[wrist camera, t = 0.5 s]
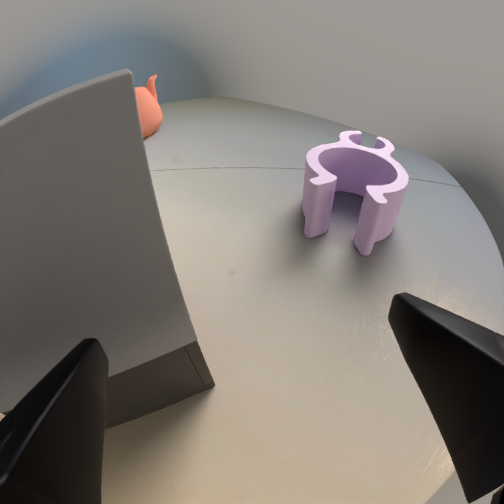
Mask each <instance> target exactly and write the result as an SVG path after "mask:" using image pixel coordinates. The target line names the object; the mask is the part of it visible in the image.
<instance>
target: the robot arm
mask: <svg viewBox="0 0 504 504" xmlns="http://www.w3.org/2000/svg"><path fill="white" fill-rule="evenodd" d="M388 320H389V323H390V325H391V328H392V330H393V332H394V335H395V337H396V339H397V342H398V344H399V347H400V349H401V352H402V354H403V356H404V358H405V361H406V363H407V365H408V367H409V369H410V370H411V372H412V374H413V376H414V378H415V380H416V382H417V384H418V386H419V388H420V390H421V392H422V394H423V396H424V398H425V400H426V402H427V404H428V406H429V408H430V411H431V413H432V415H433V417H434V419H435V421H436V424H437V426H438V428H439V430H440V432H441V435H442V437H443V439H444V442H445V444H446V446H447V449H448V451H449V454H450V456H451V458H452V461H453V464H454V466H455V469H456V471H457V474H458V477H459V480H460V482H461V485H462V488H463V491H464V494H465V496H466V500H467V502H468V503H471V502H473V501H475V500H477V499H479V498H481V497H482V496H484V495H486V494H488V493H490V492H491V491H493V490H495V489H496V488H498V487H500V486H501V485H503V484H504V336H503V335H500V334H498V333H496V332H495V333H494V331H492V330H490V329H487V328H485V327H483V326H481V325H479V324H476V323H474V322H472V321H470V320H468V319H465V318H463V317H461V316H459V315H456V314H454V313H452V312H450V311H447V310H445V309H443V308H441V307H438V306H436V305H434V304H431V303H429V302H427V301H425V300H422V299H420V298H418V297H415V296H413V295H411V294H408V293H405V292H404V293H400V294H396V295H394V297H393V299H392V303H391V307H390V311H389V315H388ZM108 369H109V361H108V357H107V355H106V353H105V352H104V350H103V348H102V346H101V344H100V342H99V340H98V339H96V338H85V339H83V340H82V341H81V342H80V343H79V344H78V345H77V346H75V347H74V348H73V349H72V350H71V351H70V352H69V353H68V354H67V355H66V356H65V357H64V358H63V359H62V360H61V361H60V362H59V363H58V364H57V365H55V366H54V367H53V368H52V369H51V370H50V371H49V372H48V373H47V374H46V375H45V376H44V377H43V378H42V379H41V380H40V381H39V382H38V383H37V384H36V385H35V386H34V387H33V388H32V389H31V390H30V391H29V392H28V393H27V394H26V395H25V396H24V397H23V398H22V399H21V400H20V401H19V402H18V403H17V404H16V406H15V407H14V408H13V410H11V411H10V412H9V413H8V414H7V415H6V416H5V417H4V418H3V419H2V420H1V421H0V504H101V483H102V458H103V443H104V432H105V422H106V413H107V393H108ZM491 504H504V485H503V486H502V487H501V488H500V489H499V490H498V491H497V492H496V493H494V494H493V497H492V500H491Z"/></svg>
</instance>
